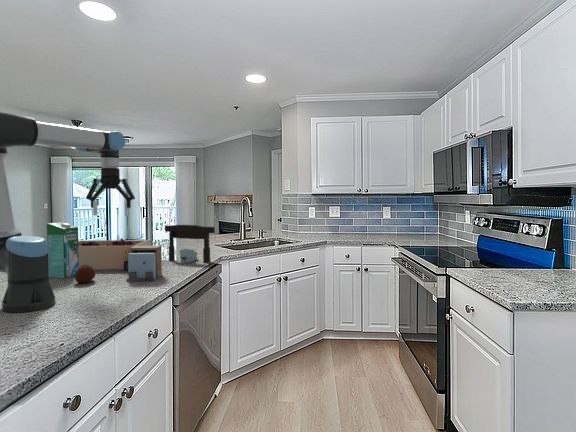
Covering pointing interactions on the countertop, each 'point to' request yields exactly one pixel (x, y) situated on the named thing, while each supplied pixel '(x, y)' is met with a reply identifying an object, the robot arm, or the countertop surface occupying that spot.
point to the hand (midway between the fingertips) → (111, 215)
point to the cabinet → (158, 263)
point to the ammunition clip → (126, 259)
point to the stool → (189, 233)
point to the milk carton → (62, 249)
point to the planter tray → (105, 254)
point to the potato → (84, 274)
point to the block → (142, 264)
